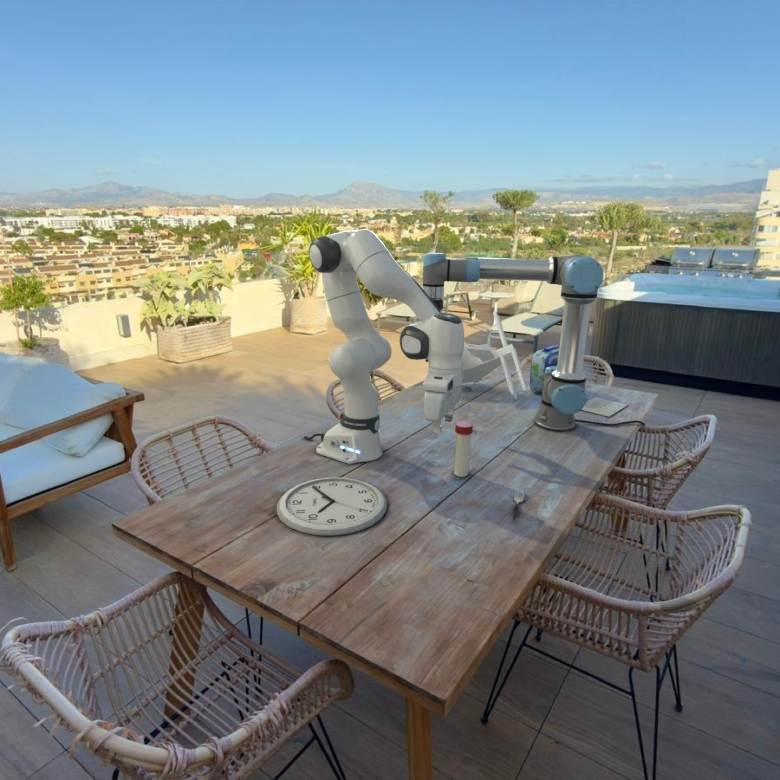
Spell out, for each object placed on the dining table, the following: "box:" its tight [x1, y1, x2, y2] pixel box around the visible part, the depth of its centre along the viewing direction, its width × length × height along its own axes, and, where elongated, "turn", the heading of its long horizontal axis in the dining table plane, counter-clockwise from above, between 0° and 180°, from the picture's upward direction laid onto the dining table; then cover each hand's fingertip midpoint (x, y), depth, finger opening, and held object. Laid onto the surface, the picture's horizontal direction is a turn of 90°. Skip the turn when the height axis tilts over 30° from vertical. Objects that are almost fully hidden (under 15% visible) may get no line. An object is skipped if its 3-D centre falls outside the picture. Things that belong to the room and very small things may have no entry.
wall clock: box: [276, 476, 388, 537], centre depth 142 cm, size 30×2×30 cm
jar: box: [453, 432, 472, 478], centre depth 160 cm, size 4×4×16 cm
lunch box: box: [529, 345, 560, 394], centre depth 245 cm, size 26×11×21 cm, turn 134°
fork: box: [512, 487, 526, 521], centre depth 143 cm, size 3×16×2 cm, turn 160°
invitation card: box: [580, 396, 629, 418], centre depth 226 cm, size 21×1×15 cm
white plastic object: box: [462, 310, 531, 400], centre depth 245 cm, size 37×45×31 cm
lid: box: [454, 420, 474, 435], centre depth 158 cm, size 5×5×2 cm
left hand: (443, 426), depth 140 cm, fingers open, 8 cm apart
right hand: (430, 357), depth 190 cm, fingers open, 13 cm apart
